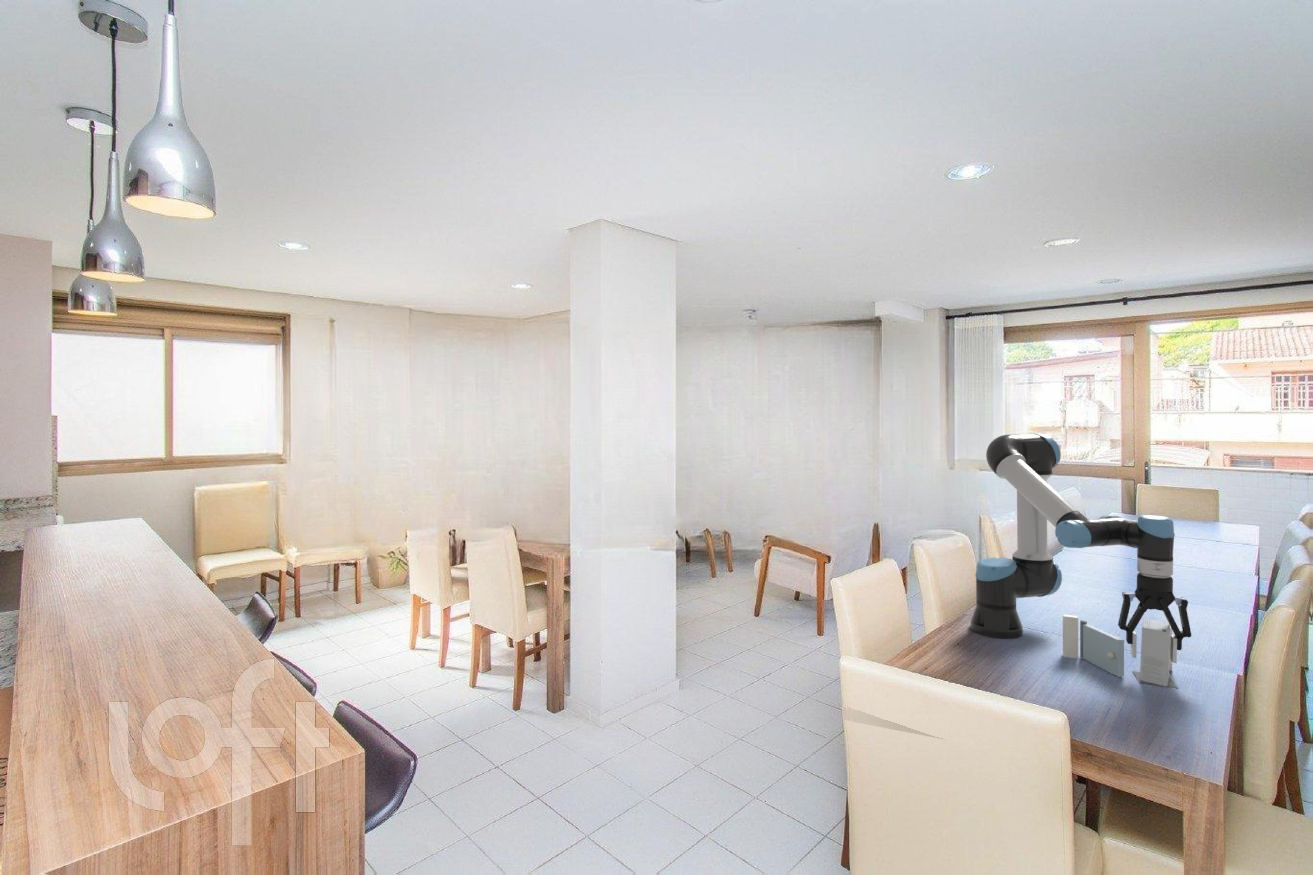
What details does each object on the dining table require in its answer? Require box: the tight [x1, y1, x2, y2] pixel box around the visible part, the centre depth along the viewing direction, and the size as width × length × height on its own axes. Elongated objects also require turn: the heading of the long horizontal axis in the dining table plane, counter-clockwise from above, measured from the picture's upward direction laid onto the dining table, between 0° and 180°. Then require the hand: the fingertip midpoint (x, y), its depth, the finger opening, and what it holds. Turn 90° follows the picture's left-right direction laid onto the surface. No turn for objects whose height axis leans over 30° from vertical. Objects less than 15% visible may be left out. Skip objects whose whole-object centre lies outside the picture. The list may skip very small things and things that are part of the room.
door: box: [1079, 620, 1125, 678], centre depth 175 cm, size 15×3×11 cm, turn 3°
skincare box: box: [1139, 618, 1170, 687], centre depth 166 cm, size 8×6×15 cm
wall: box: [1062, 614, 1173, 672], centre depth 179 cm, size 25×2×12 cm, turn 63°
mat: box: [1132, 670, 1179, 689], centre depth 167 cm, size 8×8×1 cm
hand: (1153, 658), depth 167 cm, fingers open, 8 cm apart
